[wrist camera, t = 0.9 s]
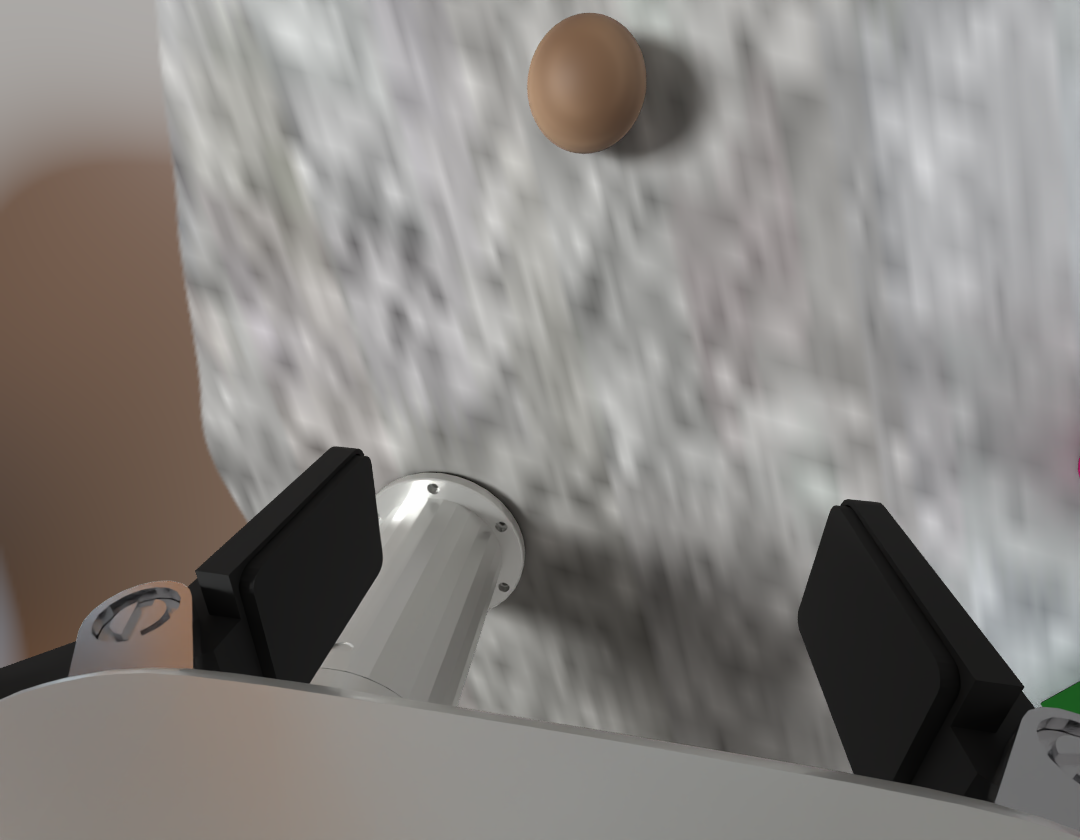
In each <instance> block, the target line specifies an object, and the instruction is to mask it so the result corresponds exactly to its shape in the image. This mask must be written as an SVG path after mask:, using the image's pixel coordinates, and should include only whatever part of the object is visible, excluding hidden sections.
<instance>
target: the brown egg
mask: <svg viewBox="0 0 1080 840" xmlns="http://www.w3.org/2000/svg"><path fill="white" fill-rule="evenodd" d="M527 90H528V100H529V105H530V109H531V112H532V115H533V117H534V119H535V122H536V123H537V125H538V127H539V128H540V130H541V131H542V132H543V134H544V135H545V136H546V137H547V138H548V139H549V140H550V141H551V142H552V143H554V144H555V145H556V146H558V147H560V148H562V149H564V150H567V151H569V152H574V153H582V154H587V153H594V152H598V151H601V150H604V149H607V148H608V147H610V146H612V145H614V144H615V143H616V142H618V141H619V140H620V139H621V138H622V137H623V136H625V135H626V133H627V132H628V131H629V130H630V129H631V127H632V126H633V124H634V123H635V121H636V119H637V117H638V115H639V113H640V111H641V108H642V105H643V102H644V98H645V92H646V68H645V63H644V58H643V55H642V52H641V50H640V47H639V45H638V43H637V42H636V40H635V38H634V37H633V36H632V34H631V33H630V32H629V31H628V30H627V29H626V28H625V27H624V26H623V25H622V24H620V23H619V22H618V21H616V20H614V19H612V18H611V17H608V16H605V15H602V14H597V13H582V14H577V15H574V16H571V17H569V18H566V19H564V20H563V21H561V22H560V23H558V24H556V25H555V26H554V27H553V28H552V29H551V30H550V31H549V32H548V33H547V34H546V35H545V36H544V38H543V39H542V41H541V42H540V43H539V45H538V47H537V49H536V51H535V53H534V56H533V58H532V61H531V65H530V68H529V74H528V85H527Z"/></svg>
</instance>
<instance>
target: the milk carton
mask: <svg viewBox="0 0 1080 840" xmlns="http://www.w3.org/2000/svg"><path fill="white" fill-rule="evenodd" d="M1041 705H1042V707H1049V708H1059V709H1063V710H1066V711H1070V712H1073V713H1077V714H1080V682H1078V683H1076V684H1074V685H1073V686H1071V687H1069V688H1067V689H1065V690H1064V691H1062V692H1060V693H1058V694H1056V695H1055V696H1053V697H1051V698H1049V699H1047V700H1046V701H1044V702H1042V703H1041Z"/></svg>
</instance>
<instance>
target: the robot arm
mask: <svg viewBox="0 0 1080 840" xmlns="http://www.w3.org/2000/svg"><path fill="white" fill-rule="evenodd" d="M524 560H525V546H524V539H523V536H522V533H521V531H520V528H519V525H518V524H517V522H516V520H515V519H514V517H513V515H512V514H511V512H510V511H509V510H508V509H507V508H506V507H505V506H504V504H503V503H502V502H501V501H500V500H499V499H497V498H496V497H495V496H494V495H492V494H491V493H490V492H489V491H487V490H486V489H484V488H482V487H480V486H479V485H477V484H475V483H473V482H471V481H468V480H466V479H463V478H460V477H458V476H453V475H448V474H443V473H419V474H412V475H408V476H405V477H402V478H400V479H397V480H395V481H393V482H392V483H390V484H388V485H387V486H385V487H384V488H383V489H382V490H381V491H380V492H379V493H378V494H377V495H376V496H375V488H374V480H373V472H372V464H371V460H370V458H369V457H368V456H364V454H363V452H362V450H360V449H355V448H346V447H332V448H330V449H329V450H328V451H327V452H325V453H324V454H323V455H322V456H321V457H320V458H319V459H318V460H317V461H316V462H314V463H313V464H312V465H311V466H310V467H309V468H308V469H307V470H306V471H305V472H303V473H302V474H301V475H300V476H299V477H298V478H297V479H296V480H295V481H294V482H292V483H291V484H290V485H289V486H288V487H287V488H286V489H285V490H284V491H282V492H281V493H280V494H279V495H278V496H277V497H276V498H275V499H274V500H273V501H271V502H270V503H269V504H268V505H267V506H266V507H265V508H264V509H263V510H262V511H260V512H259V513H258V514H257V515H256V516H255V517H254V518H253V519H252V520H251V521H249V522H248V523H247V524H246V525H245V526H244V527H243V528H242V529H241V530H239V531H238V533H236V534H235V535H234V536H233V537H232V538H231V539H230V540H229V541H227V542H226V543H225V544H224V545H223V546H222V547H221V548H220V549H219V550H217V551H216V552H215V553H214V554H213V555H212V556H211V557H210V558H209V559H208V560H207V561H205V562H204V563H203V564H202V565H201V566H200V567H199V568H198V569H197V570H195V572H196V575H197V579H196V580H195V581H194V582H193V583H192V584H190V585H189V586H188V587H186V586H185V585H184V584H182V583H178V582H174V581H155V582H151V583H146V584H141V585H138V586H135V587H133V588H130V589H127V590H125V591H122V592H121V593H119V594H117V595H115V596H113V597H111V598H109V599H107V600H106V601H105V602H103V603H102V604H101V605H99V606H98V607H97V608H95V609H94V610H93V611H92V612H91V613H90V614H89V615H88V616H87V617H86V619H85V620H84V621H83V623H82V625H81V627H80V629H79V632H78V636H77V641H75V642H73V643H70V644H67V645H65V646H61V647H59V648H56V649H53V650H51V651H48V652H45V653H42V654H39V655H36V656H34V657H31V658H28V659H25V660H23V661H19V662H17V663H14V664H11V665H8V666H6V667H3V668H0V840H1080V714H1077V713H1073V712H1070V711H1066V710H1063V709H1059V708H1049V707H1039V708H1034V706H1033V705H1032V704H1031V702H1030V701H1029V700H1028V698H1027V697H1026V696H1025V695H1024V693H1023V692H1022V690H1023V688H1024V686H1023V684H1022V683H1021V682H1020V680H1019V679H1018V678H1017V677H1016V675H1015V674H1014V673H1013V671H1012V670H1011V669H1010V668H1009V666H1008V665H1007V664H1006V662H1005V661H1004V660H1003V659H1002V657H1001V656H1000V655H999V653H998V652H997V651H996V650H995V648H994V647H993V646H992V644H991V643H990V642H989V641H988V639H987V638H986V637H985V635H984V634H983V633H982V632H981V630H980V629H979V628H978V626H977V625H976V624H975V623H974V621H973V620H972V619H971V617H970V616H969V615H968V614H967V612H966V611H965V610H964V608H963V607H962V606H961V605H960V603H959V602H958V601H957V599H956V598H955V597H954V595H953V594H952V593H951V592H950V590H949V589H948V588H947V586H946V585H945V584H944V583H943V581H942V580H941V579H940V577H939V576H938V575H937V574H936V572H935V571H934V570H933V568H932V567H931V566H930V565H929V563H928V562H927V561H926V559H925V558H924V557H923V556H922V554H921V553H920V552H919V550H918V549H917V548H916V547H915V545H914V544H913V543H912V541H911V540H910V539H909V538H908V536H907V535H906V534H905V532H904V531H903V530H902V529H901V527H900V526H899V525H898V523H897V522H896V521H895V520H894V518H893V517H892V516H891V514H890V513H889V512H888V510H887V509H886V508H885V507H884V506H883V505H882V504H881V503H878V502H870V501H860V500H850V499H847V500H844V501H843V503H842V504H841V506H833V507H832V509H831V511H830V513H829V516H828V519H827V523H826V526H825V529H824V532H823V535H822V538H821V541H820V545H819V548H818V551H817V554H816V557H815V560H814V563H813V567H812V570H811V573H810V576H809V579H808V582H807V585H806V589H805V592H804V595H803V598H802V601H801V604H800V607H799V611H798V626H799V630H800V633H801V635H802V638H803V641H804V643H805V646H806V649H807V651H808V654H809V657H810V659H811V662H812V665H813V667H814V670H815V673H816V675H817V678H818V680H819V683H820V686H821V688H822V691H823V694H824V696H825V699H826V702H827V704H828V707H829V710H830V712H831V715H832V718H833V720H834V723H835V726H836V728H837V731H838V734H839V736H840V739H841V741H842V744H843V747H844V749H845V752H846V755H847V757H848V760H849V763H850V765H851V768H852V771H853V773H854V774H850V773H845V772H839V771H834V770H829V769H823V768H818V767H813V766H807V765H801V764H795V763H790V762H784V761H778V760H772V759H766V758H760V757H754V756H748V755H743V754H737V753H731V752H725V751H719V750H713V749H707V748H702V747H696V746H690V745H684V744H678V743H672V742H666V741H661V740H655V739H649V738H643V737H637V736H631V735H625V734H619V733H613V732H607V731H601V730H595V729H589V728H583V727H576V726H570V725H564V724H558V723H552V722H546V721H540V720H534V719H528V718H522V717H516V716H510V715H503V714H497V713H491V712H485V711H479V710H473V709H467V708H461V707H457V706H458V703H459V700H460V697H461V694H462V690H463V687H464V684H465V681H466V678H467V675H468V672H469V668H470V665H471V662H472V659H473V656H474V653H475V650H476V647H477V643H478V640H479V637H480V634H481V631H482V628H483V625H484V621H485V618H486V615H487V612H488V610H489V609H491V608H494V607H496V606H498V605H499V604H500V603H502V602H503V601H504V600H505V599H507V598H508V597H509V595H510V594H511V593H512V592H513V591H514V589H515V588H516V586H517V584H518V582H519V580H520V578H521V574H522V570H523V567H524Z"/></svg>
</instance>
